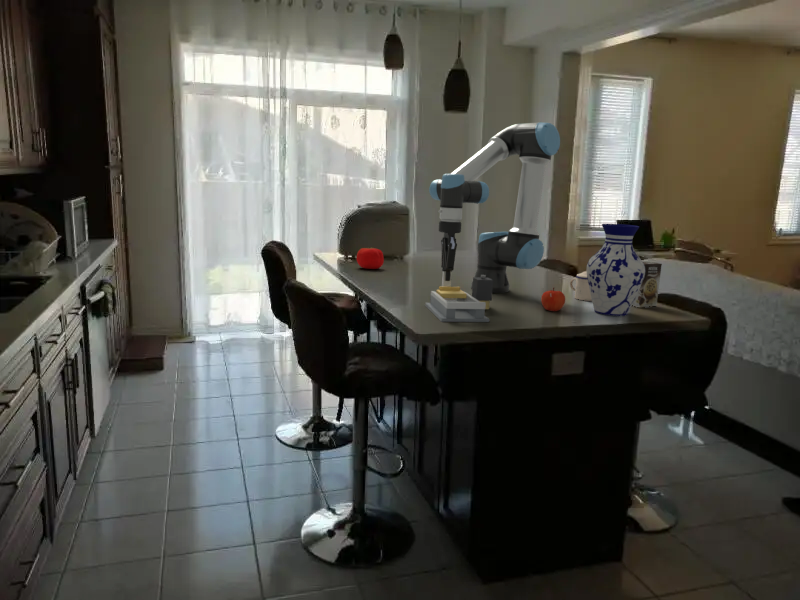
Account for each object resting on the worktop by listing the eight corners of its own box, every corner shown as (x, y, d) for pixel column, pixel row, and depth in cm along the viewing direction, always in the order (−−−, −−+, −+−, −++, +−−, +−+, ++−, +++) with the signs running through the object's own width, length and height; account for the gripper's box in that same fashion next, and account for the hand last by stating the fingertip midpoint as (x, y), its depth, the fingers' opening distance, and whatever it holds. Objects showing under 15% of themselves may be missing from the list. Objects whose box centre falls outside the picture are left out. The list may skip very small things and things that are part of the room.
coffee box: (639, 308, 231) (644, 263, 228) (625, 304, 236) (630, 261, 233) (657, 307, 235) (662, 263, 232) (643, 303, 241) (648, 261, 238)
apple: (560, 313, 214) (562, 290, 212) (537, 310, 218) (539, 287, 217) (567, 310, 221) (569, 287, 219) (544, 307, 225) (546, 284, 223)
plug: (486, 306, 221) (488, 274, 219) (490, 309, 216) (493, 276, 214) (471, 306, 220) (473, 273, 218) (475, 309, 215) (477, 276, 213)
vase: (608, 320, 208) (618, 227, 202) (570, 308, 225) (579, 222, 219) (652, 317, 215) (663, 228, 210) (613, 306, 232) (622, 223, 227)
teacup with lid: (602, 299, 244) (606, 269, 242) (591, 302, 238) (594, 271, 236) (574, 294, 253) (577, 265, 251) (562, 297, 246) (565, 267, 244)
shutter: (461, 294, 216) (461, 286, 216) (466, 298, 210) (466, 290, 209) (436, 294, 215) (436, 286, 214) (440, 297, 208) (441, 289, 208)
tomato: (382, 271, 293) (383, 248, 291) (355, 269, 293) (356, 247, 291) (383, 267, 304) (384, 246, 302) (357, 266, 304) (358, 245, 302)
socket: (467, 305, 220) (468, 288, 219) (489, 322, 196) (490, 302, 195) (424, 305, 217) (425, 288, 216) (441, 321, 194) (442, 302, 192)
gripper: (435, 218, 220) (431, 286, 225) (443, 221, 208) (439, 293, 212) (456, 219, 221) (452, 287, 226) (466, 222, 209) (461, 293, 213)
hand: (445, 289), depth 219 cm, fingers closed
